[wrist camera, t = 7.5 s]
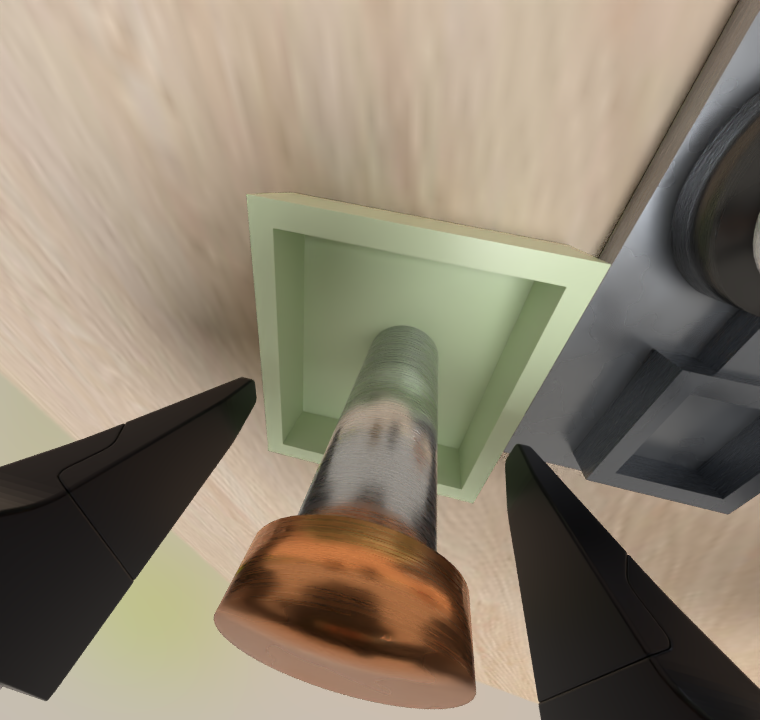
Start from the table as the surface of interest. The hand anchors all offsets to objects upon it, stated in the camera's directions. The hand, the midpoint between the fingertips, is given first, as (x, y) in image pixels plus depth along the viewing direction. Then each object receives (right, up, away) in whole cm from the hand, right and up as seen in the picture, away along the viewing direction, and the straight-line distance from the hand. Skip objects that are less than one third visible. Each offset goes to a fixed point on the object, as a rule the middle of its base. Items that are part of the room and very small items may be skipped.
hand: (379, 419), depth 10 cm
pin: (+1, +2, +4) cm, 4 cm away
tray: (+1, +3, +4) cm, 5 cm away
